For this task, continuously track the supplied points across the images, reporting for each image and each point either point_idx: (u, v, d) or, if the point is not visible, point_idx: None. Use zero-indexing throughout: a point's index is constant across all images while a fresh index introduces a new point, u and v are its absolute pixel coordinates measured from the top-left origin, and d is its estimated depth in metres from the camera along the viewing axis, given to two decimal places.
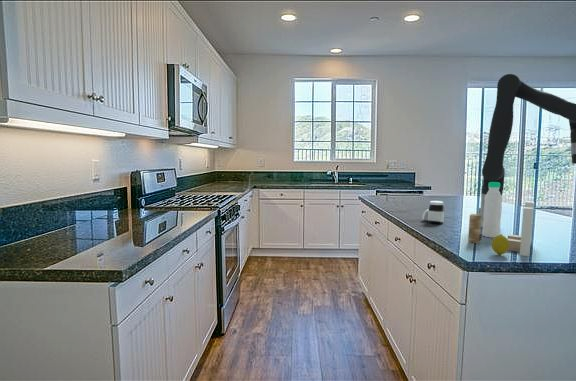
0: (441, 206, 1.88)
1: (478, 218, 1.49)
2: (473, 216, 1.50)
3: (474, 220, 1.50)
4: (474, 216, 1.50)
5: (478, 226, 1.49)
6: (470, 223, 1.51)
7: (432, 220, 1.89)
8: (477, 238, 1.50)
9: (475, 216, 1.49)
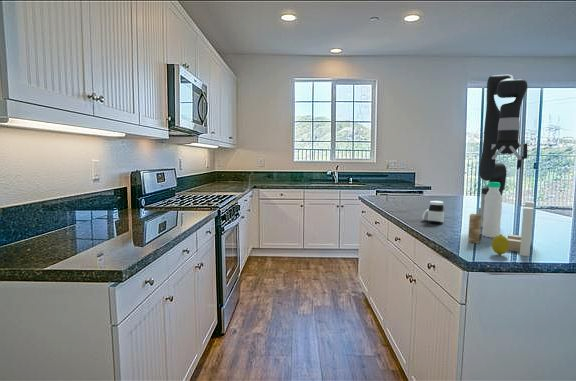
0: (441, 206, 1.88)
1: (478, 218, 1.49)
2: (473, 216, 1.50)
3: (474, 220, 1.50)
4: (474, 216, 1.50)
5: (478, 226, 1.49)
6: (470, 223, 1.51)
7: (432, 220, 1.89)
8: (477, 238, 1.50)
9: (475, 216, 1.49)
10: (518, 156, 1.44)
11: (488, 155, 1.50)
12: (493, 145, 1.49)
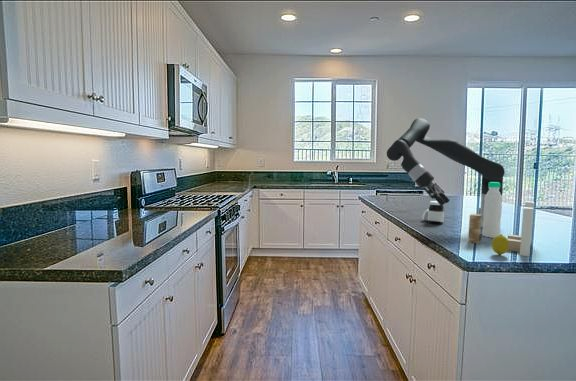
0: (441, 206, 1.88)
1: (478, 218, 1.49)
2: (473, 216, 1.50)
3: (474, 220, 1.50)
4: (474, 216, 1.50)
5: (478, 226, 1.49)
6: (470, 223, 1.51)
7: (432, 220, 1.89)
8: (477, 238, 1.50)
9: (475, 216, 1.49)
10: None
11: None
12: None
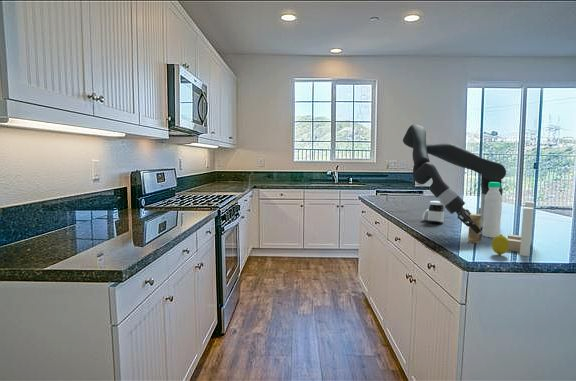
0: (441, 206, 1.88)
1: (478, 218, 1.49)
2: (473, 216, 1.50)
3: (474, 220, 1.50)
4: (474, 216, 1.50)
5: (478, 226, 1.49)
6: None
7: (432, 220, 1.89)
8: (477, 238, 1.50)
9: (475, 216, 1.49)
10: None
11: None
12: None
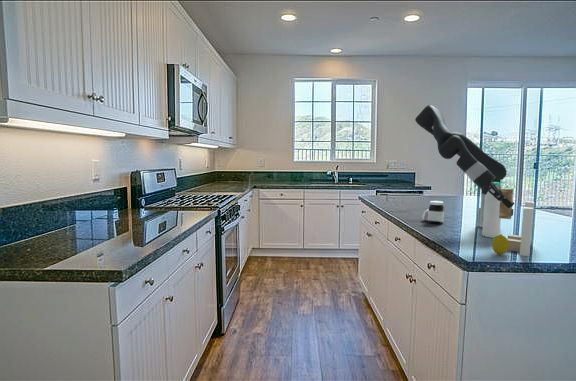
0: (441, 206, 1.88)
1: (510, 192, 1.41)
2: (504, 190, 1.42)
3: (505, 194, 1.42)
4: (505, 190, 1.42)
5: (510, 200, 1.41)
6: None
7: (432, 220, 1.89)
8: (509, 213, 1.42)
9: (507, 190, 1.42)
10: None
11: None
12: None
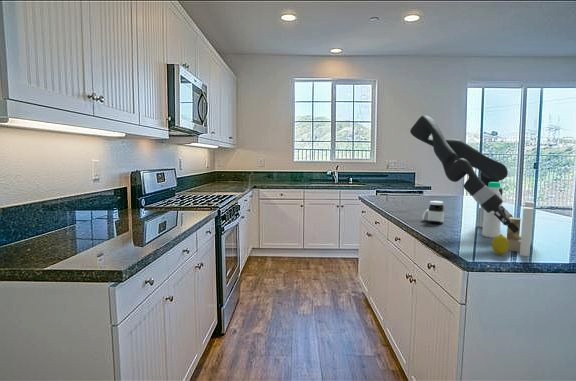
0: (441, 206, 1.88)
1: (517, 222, 1.41)
2: (512, 220, 1.42)
3: None
4: (513, 220, 1.42)
5: None
6: (508, 227, 1.43)
7: (432, 220, 1.89)
8: None
9: (514, 220, 1.42)
10: None
11: None
12: None
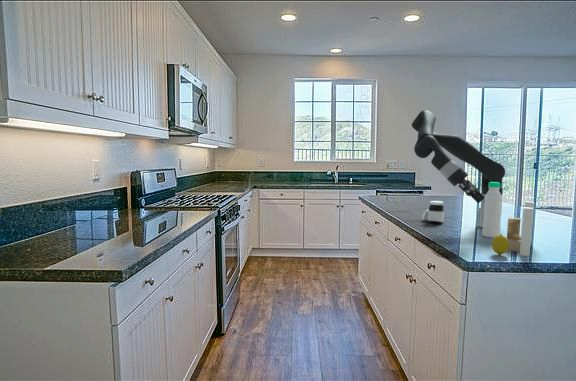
0: (441, 206, 1.88)
1: (517, 222, 1.41)
2: (512, 220, 1.42)
3: (513, 224, 1.42)
4: (513, 220, 1.42)
5: (517, 230, 1.41)
6: (508, 227, 1.43)
7: (432, 220, 1.89)
8: None
9: (514, 220, 1.41)
10: None
11: None
12: None
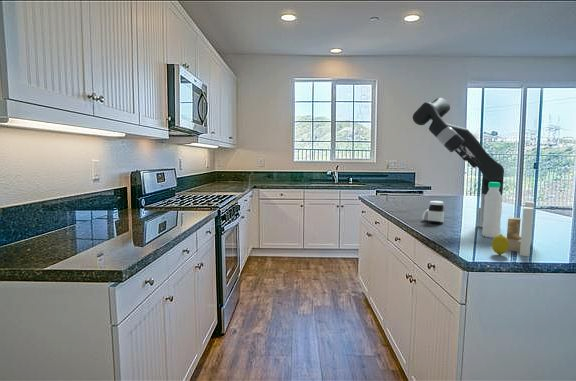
0: (441, 206, 1.88)
1: (517, 222, 1.41)
2: (512, 220, 1.42)
3: (513, 224, 1.42)
4: (513, 220, 1.42)
5: (517, 230, 1.41)
6: (508, 227, 1.43)
7: (432, 220, 1.89)
8: None
9: (514, 220, 1.41)
10: None
11: None
12: None
